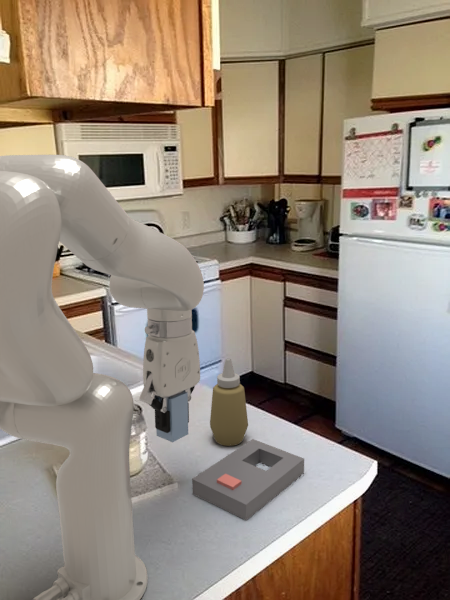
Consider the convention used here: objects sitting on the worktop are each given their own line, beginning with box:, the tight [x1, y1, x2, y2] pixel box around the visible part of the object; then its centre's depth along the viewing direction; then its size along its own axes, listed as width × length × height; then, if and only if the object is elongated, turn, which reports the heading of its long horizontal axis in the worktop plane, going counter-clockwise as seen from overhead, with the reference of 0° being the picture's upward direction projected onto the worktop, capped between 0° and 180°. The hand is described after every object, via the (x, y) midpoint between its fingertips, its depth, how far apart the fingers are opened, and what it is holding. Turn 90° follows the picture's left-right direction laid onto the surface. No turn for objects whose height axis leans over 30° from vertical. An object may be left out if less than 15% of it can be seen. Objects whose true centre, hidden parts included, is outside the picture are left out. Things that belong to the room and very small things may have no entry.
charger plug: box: [155, 391, 189, 443], centre depth 98 cm, size 4×4×8 cm
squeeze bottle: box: [209, 358, 249, 447], centre depth 115 cm, size 8×8×18 cm
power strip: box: [191, 438, 305, 521], centre depth 101 cm, size 18×12×4 cm, turn 141°
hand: (172, 424), depth 99 cm, fingers closed on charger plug, 4 cm apart
